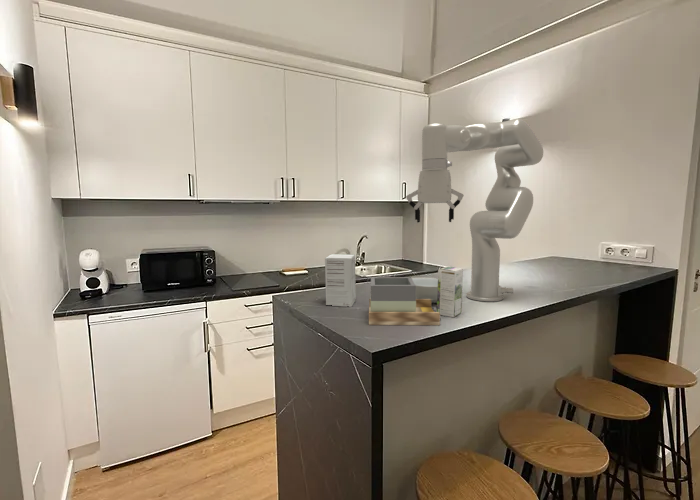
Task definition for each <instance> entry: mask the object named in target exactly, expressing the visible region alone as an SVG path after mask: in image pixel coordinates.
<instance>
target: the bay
mask: <svg viewBox="0 0 700 500" xmlns="http://www.w3.org/2000/svg"><path fill="white" fill-rule="evenodd" d="M368 301H369V304H368V325H369V326H440V325H441V322H440V321H441V315H440V313H439V312H437V311H435V310H434V309H433V308H432V303H431V299H416V312H371V302H370V301H371V298H369V300H368Z"/></svg>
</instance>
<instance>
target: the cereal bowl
mask: <svg viewBox="0 0 700 500" xmlns="http://www.w3.org/2000/svg"><path fill="white" fill-rule="evenodd" d="M411 278H412V280H413V282H414V284H415V285H416V299H431V304H437V294H438V277H437V278H436V277H411Z"/></svg>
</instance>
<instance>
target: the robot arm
mask: <svg viewBox="0 0 700 500" xmlns="http://www.w3.org/2000/svg"><path fill="white" fill-rule="evenodd" d="M421 131H422V132H421V133H422V135H421V136H422V137H421V138H422V139H421V141H422V142H421V143H422V144H421V148H422V149H421V157H422V158H421V160H422V161H421V167H422V168H421V170H420V171H419V174H418V182H417V189H416V190H414V191H413V192H411V193H409V194H407V195H406V197H405V198H406V199H407V202H408V204H409V205H410V206H411V207H412V208H413V209H414V221H416V222H417V223H421V210H420V207H421V206H422V205H423V204H447V205H448V207H449V209H448V222H449V223H452V220H454V218H455V208H457V206H458V205H459V204H460V203H461V202H462V200H463V197H464V194H463V193H461V192H460V191H457V190H455V189H453V188H452V177H451V171H450V169H448V168H450V167H453V161H450V160H448V153H454V152H471V151H479V150H486V149H495V148H497V150H496V151H495V153H494V163H495V169H496V174H497V178H496V180H495V182H494V184H493V187H492V188H491V190H490V192H489V194H488V196H487V197H486V200H485V206H484V207H485V209H486V210H480V211H477V212H475V213H473V215H472V216H471V217H470V220H469V231H470V236H471V275H470V277H471V279H470V280H471V282H470V291H468V292H467V293H466V297H467V299H470V300H473V301H479V302H498V301H499V302H500V301H502V300H503V299H504V294H514V289H513V288H512V287H506V286H504V287H502V286H501V285H500V267H501V266H500V262H501V261H500V260H501V249H500V244H499V243H498V241H497V240H496V239H503V240H506V239H507V240H508V239H509V240H511V239H515V238H516V237H518V236H519V234H520V233H521V231H522V230H523V228H524V226H525V224H526V222H527V219H528V218H529V215H530V214H531V212H532V209H533V205H534V194H533V192H532V190H531V189H530V188H528V187H526V186H521V184H522V182H521V178H520V176H519V174H518V173H517V172H516V170H515V168H517V167H525V166H527V167H529V166H534V165H536V164H539V163H540V162H541V161H542V159H543V157H544V148H543V147H544V146H543V145H542V143H541V141H540V139H539V138H538V136H537V135H536V133H535V131H534V130H533V128H532V127H531V126H530V124H528V122H527V121H525V120H524V119H522V118H513V119H510V120H504V121H500V122H488V123H486V122H485V123H483V122H482V123H475V124H469V125H465V126H464V125H461V124H455V125H449V124H448V125H446V124H444V123H439V122H438V123H437V122H436V123H430V124H429V123H428V124H427V125H424V126H423V128H422V130H421ZM452 195H454V196H456V197H457V198H456V200H455V202H454V203H453V202H452V201H451V200H452ZM415 196H416V197H417V203H415V202H414V201H413V197H415Z"/></svg>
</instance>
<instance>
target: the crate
mask: <svg viewBox="0 0 700 500" xmlns="http://www.w3.org/2000/svg"><path fill="white" fill-rule="evenodd" d="M412 278H413V277H411V276H409V277H408V276H407V277H406V276H402V277H400V276H398V277H397V276H395V277H394V276H393V277H392V276H390V277H389V276H388V277H387V276H385V277H384V276H377V277H376V276H375V277H370V299H371V301H370V302H371V312H416V285H415V284H414V282H413V280H412Z"/></svg>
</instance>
